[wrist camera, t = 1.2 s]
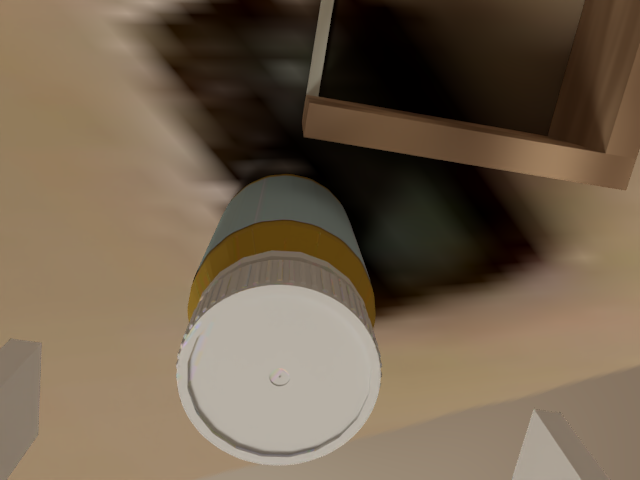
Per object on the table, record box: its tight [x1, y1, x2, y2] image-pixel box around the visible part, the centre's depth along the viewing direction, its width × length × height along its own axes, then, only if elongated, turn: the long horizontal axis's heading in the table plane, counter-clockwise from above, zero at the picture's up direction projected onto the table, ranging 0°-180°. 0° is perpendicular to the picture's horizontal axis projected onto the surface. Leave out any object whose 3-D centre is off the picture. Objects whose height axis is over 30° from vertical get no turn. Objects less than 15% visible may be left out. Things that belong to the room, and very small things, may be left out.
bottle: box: [176, 174, 382, 465], centre depth 25 cm, size 7×7×15 cm
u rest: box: [302, 0, 640, 190], centre depth 26 cm, size 14×13×6 cm
